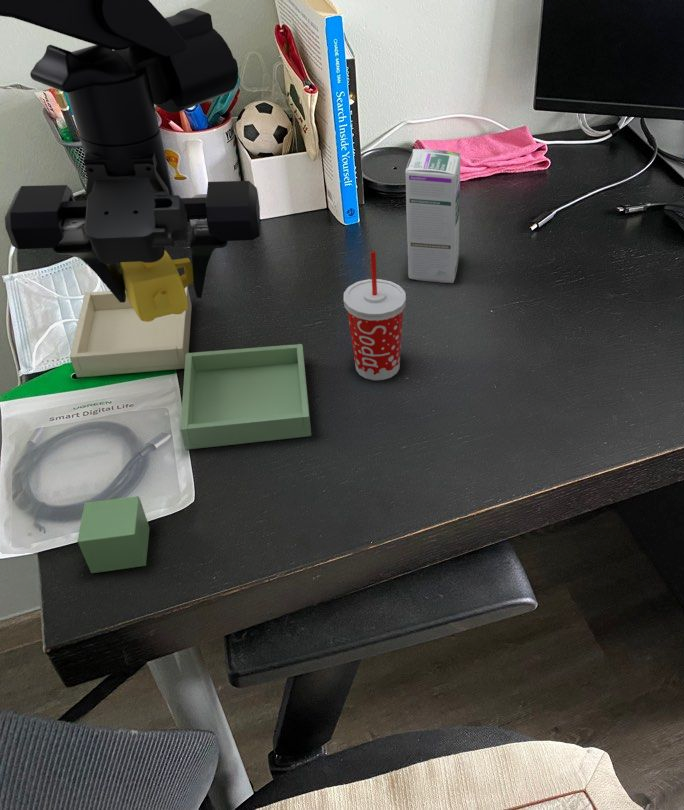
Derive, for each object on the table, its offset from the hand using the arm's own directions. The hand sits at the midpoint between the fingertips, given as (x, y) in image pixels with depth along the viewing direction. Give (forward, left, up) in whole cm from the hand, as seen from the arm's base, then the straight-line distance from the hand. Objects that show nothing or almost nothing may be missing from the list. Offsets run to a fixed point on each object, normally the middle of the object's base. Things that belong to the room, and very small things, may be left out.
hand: (161, 298), depth 74 cm
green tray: (+6, -3, -11) cm, 13 cm away
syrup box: (+28, +19, -11) cm, 36 cm away
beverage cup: (+19, +1, -11) cm, 22 cm away
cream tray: (-5, +9, -11) cm, 15 cm away
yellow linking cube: (0, 0, -1) cm, 1 cm away
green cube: (-4, -19, -11) cm, 23 cm away
